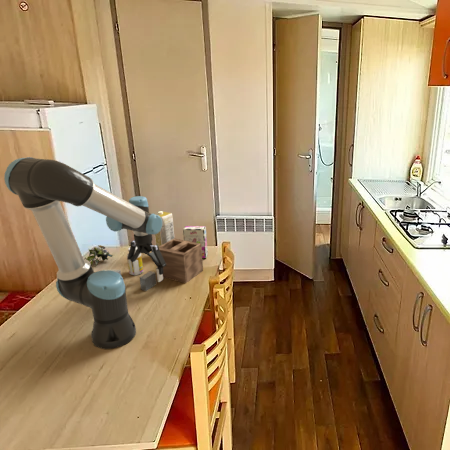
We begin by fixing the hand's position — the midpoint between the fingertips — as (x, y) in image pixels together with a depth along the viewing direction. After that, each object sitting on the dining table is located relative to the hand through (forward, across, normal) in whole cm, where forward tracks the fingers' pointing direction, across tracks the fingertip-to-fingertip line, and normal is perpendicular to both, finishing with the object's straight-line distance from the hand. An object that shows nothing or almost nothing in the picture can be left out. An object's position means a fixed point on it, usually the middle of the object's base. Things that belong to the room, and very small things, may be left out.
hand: (148, 277), depth 163 cm
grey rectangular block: (+4, 0, +1) cm, 5 cm away
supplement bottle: (+5, +15, -7) cm, 17 cm away
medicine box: (+4, +13, +10) cm, 17 cm away
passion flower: (+5, +40, -6) cm, 41 cm away
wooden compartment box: (+5, -5, -16) cm, 18 cm away
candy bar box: (+5, -1, -35) cm, 36 cm away
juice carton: (+5, +15, -30) cm, 34 cm away
